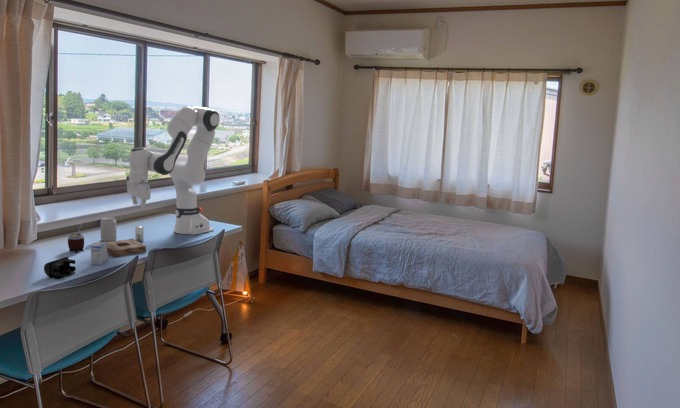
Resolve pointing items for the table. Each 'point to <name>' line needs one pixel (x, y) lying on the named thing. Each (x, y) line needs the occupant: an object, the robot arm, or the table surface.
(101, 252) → the medicine box
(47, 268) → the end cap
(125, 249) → the block
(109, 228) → the can
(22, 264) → the table surface
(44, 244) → the table surface
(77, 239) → the mate gourd
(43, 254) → the table surface
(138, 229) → the cylinder
